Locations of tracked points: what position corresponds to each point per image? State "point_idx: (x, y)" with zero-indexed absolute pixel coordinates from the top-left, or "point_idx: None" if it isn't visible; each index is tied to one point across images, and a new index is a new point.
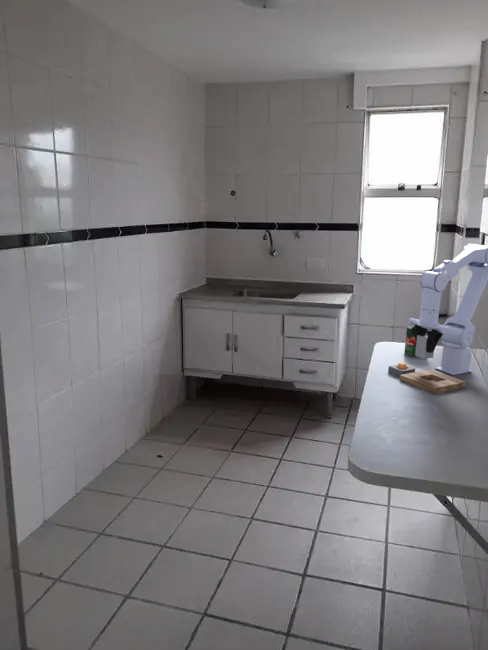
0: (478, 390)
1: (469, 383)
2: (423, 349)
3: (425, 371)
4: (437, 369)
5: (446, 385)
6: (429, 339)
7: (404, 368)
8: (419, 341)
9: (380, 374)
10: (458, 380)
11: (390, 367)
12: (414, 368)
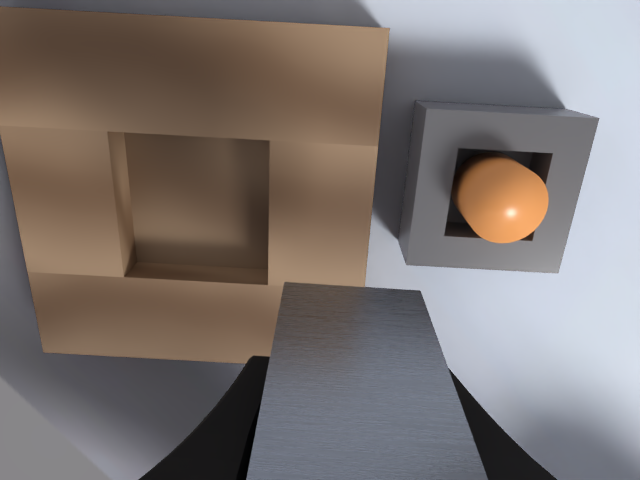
0: (2, 354)
1: (124, 412)
2: (309, 341)
3: None
4: None
5: (10, 157)
6: (195, 469)
7: (460, 185)
8: (405, 411)
9: (592, 17)
10: (80, 331)
11: (572, 115)
12: (414, 263)
